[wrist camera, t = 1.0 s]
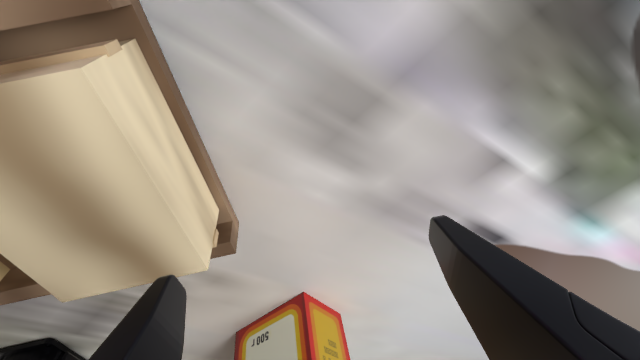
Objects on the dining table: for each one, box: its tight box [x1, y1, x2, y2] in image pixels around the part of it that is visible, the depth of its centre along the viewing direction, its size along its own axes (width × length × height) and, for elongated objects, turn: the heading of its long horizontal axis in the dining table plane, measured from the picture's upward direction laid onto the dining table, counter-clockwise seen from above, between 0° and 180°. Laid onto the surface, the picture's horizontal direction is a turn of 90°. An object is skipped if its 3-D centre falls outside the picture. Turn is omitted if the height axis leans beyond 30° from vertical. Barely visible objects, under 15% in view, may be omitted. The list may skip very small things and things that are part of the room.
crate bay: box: [0, 0, 239, 305], centre depth 16 cm, size 17×16×4 cm
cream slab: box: [0, 39, 219, 303], centre depth 15 cm, size 8×12×5 cm
